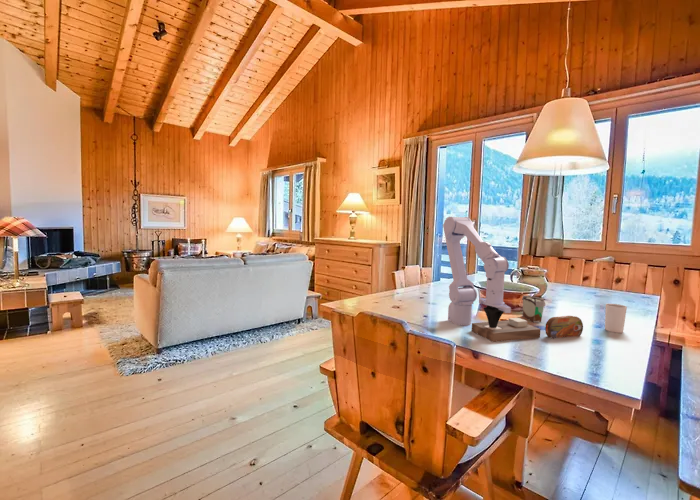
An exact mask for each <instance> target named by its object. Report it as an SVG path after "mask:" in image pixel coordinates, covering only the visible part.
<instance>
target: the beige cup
mask: <svg viewBox="0 0 700 500" xmlns="http://www.w3.org/2000/svg"><path fill="white" fill-rule="evenodd" d="M627 308H628V307H627V306H626V305H623V304H617V303H605V311H604V313H605V315H604V316H605V317H604V318H605V319H604V330H606V331H607V332H610V333H611V332H612V333H619V334H620V333H621V334H622V333H624V330H625V323H626V322H625V321H626V315H627V314H626V313H627Z"/></svg>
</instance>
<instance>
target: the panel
mask: <svg viewBox="0 0 700 500" xmlns="http://www.w3.org/2000/svg"><path fill="white" fill-rule="evenodd" d="M487 325H489V323H488V321H483V322H482V321H481V322H471V332H472V333H474V334H477V335H478V336H480V337H483V338H484V339H486V340H488V341H490V342H492V343H498V342H508V341H516V340H517V341H518V340H527V339H536V338H537V339H538V338H540V337H541V330H542V329H541V328H539V327H536V326H533V325H532V324H531V325H530V324H529V323H527V327H518V328H517V327H515V326H512V325H510V324H509V319H507V320H505V319H504V320H499V321H498V324H497V327H500V328H502V329H495V330H491V329H489V328H487V327H484V326H487Z"/></svg>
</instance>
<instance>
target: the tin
mask: <svg viewBox="0 0 700 500" xmlns="http://www.w3.org/2000/svg"><path fill="white" fill-rule="evenodd" d="M544 330H545V335H546V336H547V337H548V338H550V339H552V340H554V339H560V338H572V337H581V335H582V333H583V330H584V324H583V321H582V319H581V318H580V317H578V316H576V315H575V316H574V315H562V316H553V317H550V318H548V319H547V321H546V323H545V327H544Z"/></svg>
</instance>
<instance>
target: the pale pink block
mask: <svg viewBox="0 0 700 500" xmlns="http://www.w3.org/2000/svg"><path fill="white" fill-rule="evenodd" d="M484 327H487V328H489V329H491V330H495V329H502V328H500V327H496V328H491V327H489V325H487V326H484Z"/></svg>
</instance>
